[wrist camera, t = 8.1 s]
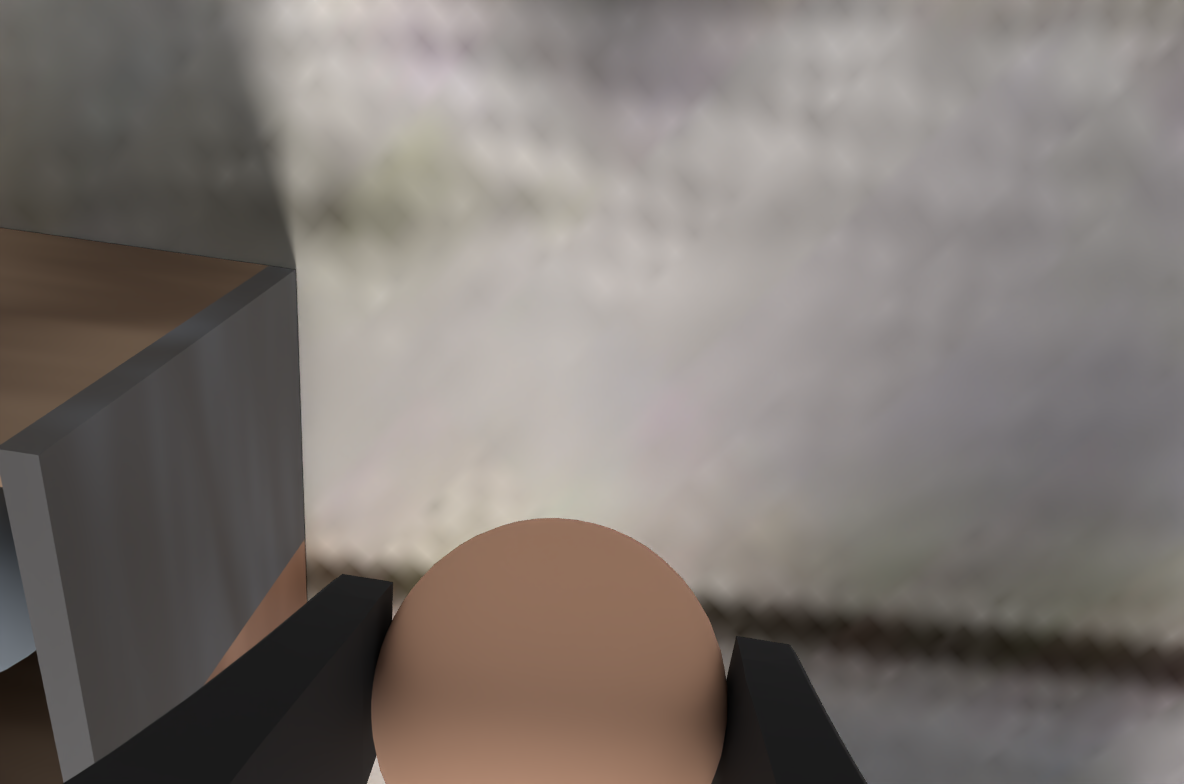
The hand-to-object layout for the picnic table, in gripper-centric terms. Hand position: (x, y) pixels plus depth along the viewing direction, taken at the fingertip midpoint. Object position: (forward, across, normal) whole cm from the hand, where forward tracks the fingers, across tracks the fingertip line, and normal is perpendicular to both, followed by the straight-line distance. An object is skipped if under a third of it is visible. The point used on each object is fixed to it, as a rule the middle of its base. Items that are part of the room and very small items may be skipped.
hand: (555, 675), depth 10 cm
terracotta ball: (+2, 0, 0) cm, 2 cm away
